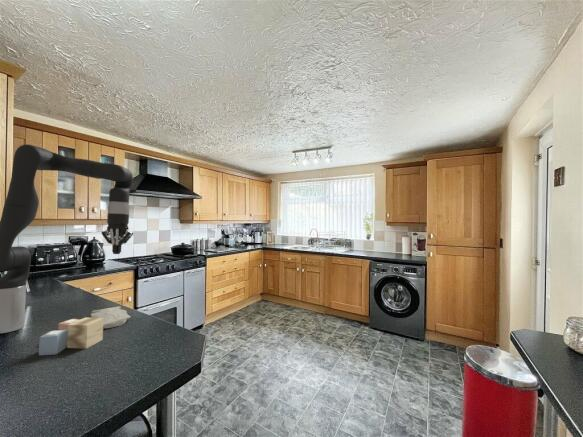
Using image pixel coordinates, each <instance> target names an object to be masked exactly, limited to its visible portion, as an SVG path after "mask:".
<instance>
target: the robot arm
mask: <svg viewBox="0 0 583 437" xmlns="http://www.w3.org/2000/svg"><path fill="white" fill-rule="evenodd" d="M37 171H52V172H53V171H56V172H64V173H65V172H66V173H72V174H75V175H78V176H82V177H86V178H87V177H88V178H91V179H92V178H93V179H98V180H108V181H112V182H114V187H113V188H110V190H109V193H108V194H109V196H108V204H107V216H106V217H107V220H106V223H107V224H108V225H107V227H106V229H105V230H104V231H103V230H102V231H101V235H102V236H103V238H104V240H106V242H107V243H108V244H110V245H112V249H111V250H112V251H111V252H112V254H113V255H120V254H121V253H122V245H123V244H127V243H128V241H129V240H130V239H131V238H132V237H133V236H134V232H133V231H130V230H129V226H128V225H129V223H130V222H129V221H130V220H129V219H130V192H131V189H132V186H133V180H134V178H133V177H134V176H133V173H132V171H131V170H130V169H128V168H126V167H124V166H123V165H120V164H116V163H106V162H100V161H95V160H90V159H86V158H85V159H84V158H77V157H75V158H74V157H70V156H64V155H62V154H59V153H56V152H53V151H50V150H48V149H46V148H44V147H40V146H36V145H32V144H21V145H19V147H17V148H16V150H15V152H14V155H13V161H12V171H11V178H10V182H9V186H8V192H7V195H6V199H5V201H4V204H3V207H2V208H3V209H2V213H1V217H0V272H2V271H3V272H4V271H7V273H5V275H3V276H1V277H0V334H6V333H10V332H13V331H14V332H15V331H17V330H21V329H23V328H24V327H25V317H26V316H25V315H26V299H27V298H26V297H27V281H28V279H29V277H30V269H31V260H32V254H31V251H30V250H29V249H28V247H26V246H20V245H19V246H13V244H14V242H15V240H16V238H17V237H18V236H19V234H20V233H22V232H23V231H24V230H25V229H26V228H27V227H28V226H29V225H30V224H31V223H32V222H33V221H34V220H35V218H36V216H37V213H38V212H37V211H38V209H39V204H40V200H39V196H38V193H37V191H36V190H37V189H36V187H35V178H36V173H37Z"/></svg>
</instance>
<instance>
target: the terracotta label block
mask: <svg viewBox="0 0 583 437" xmlns="http://www.w3.org/2000/svg"><path fill="white" fill-rule="evenodd" d="M78 320H81V319H78V318H71V319H67V320H64V321H62V322H59V323H58V327H57V329H58V330H68V325H69V324H71V323H74V322H76V321H78ZM67 340H68V336H67Z"/></svg>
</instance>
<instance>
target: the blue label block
mask: <svg viewBox="0 0 583 437" xmlns="http://www.w3.org/2000/svg"><path fill="white" fill-rule="evenodd" d="M67 336H68V330H56V329H55V330H50V331H48V332H46V333H44V334H42V335H41V336H39V341H38V342H39V343H38V344H39V345H38V347H39V348H38V356H48V355H51V356H53V355H58V354H59V353H61V352H62V351H64V350H65V349H66V348H67Z"/></svg>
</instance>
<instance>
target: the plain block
mask: <svg viewBox="0 0 583 437" xmlns="http://www.w3.org/2000/svg"><path fill="white" fill-rule="evenodd" d="M103 338H104V328H103V318H92V317H86V316H85V317H83V318H81V319H80V320H78V321H76V322H74V323H71V324H69V325H68V340H67V347H66V348H67V349H84V350H85V349H88V348H91V347H92V346H94V345H96V344H98V343H99V342H101V341H103Z"/></svg>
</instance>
